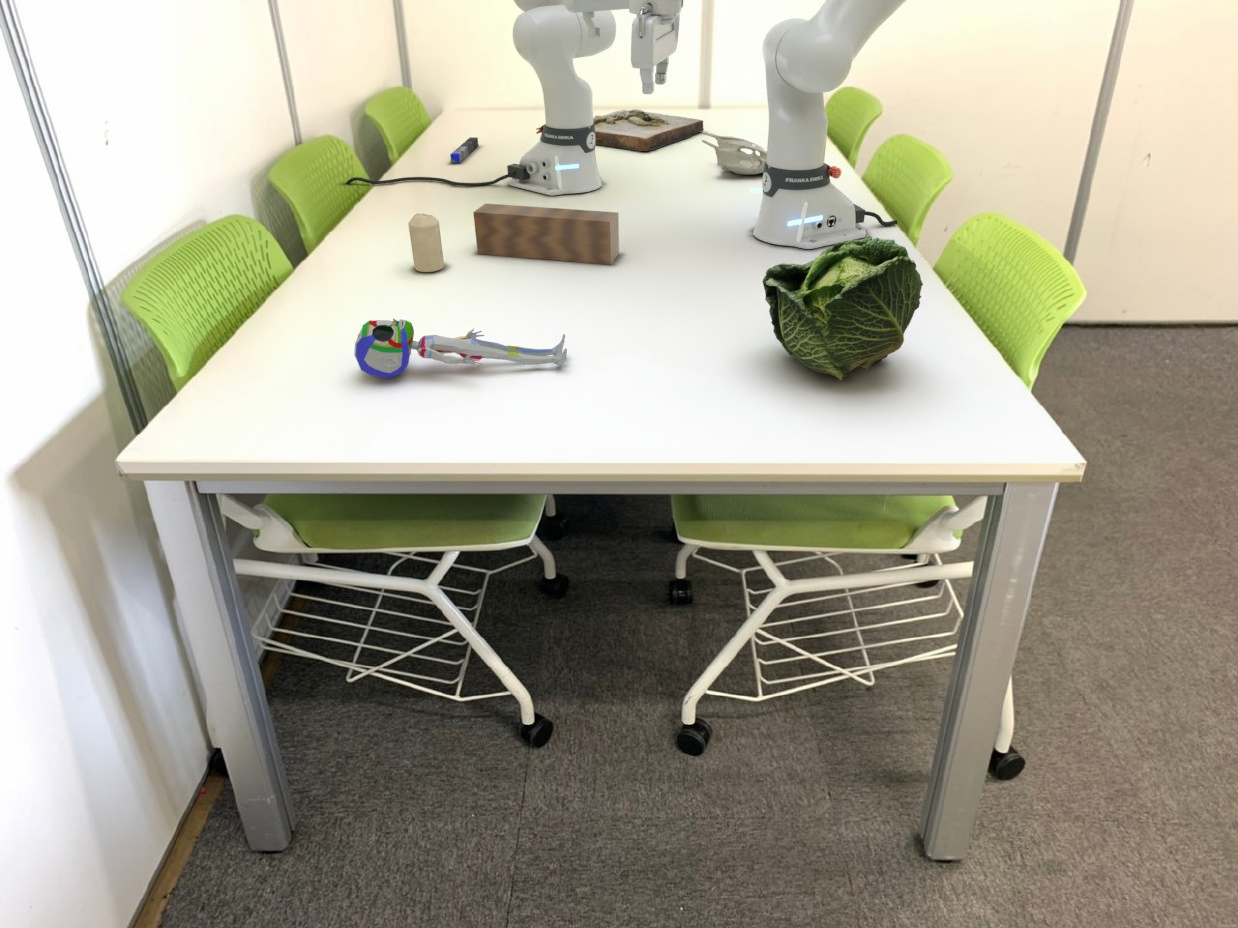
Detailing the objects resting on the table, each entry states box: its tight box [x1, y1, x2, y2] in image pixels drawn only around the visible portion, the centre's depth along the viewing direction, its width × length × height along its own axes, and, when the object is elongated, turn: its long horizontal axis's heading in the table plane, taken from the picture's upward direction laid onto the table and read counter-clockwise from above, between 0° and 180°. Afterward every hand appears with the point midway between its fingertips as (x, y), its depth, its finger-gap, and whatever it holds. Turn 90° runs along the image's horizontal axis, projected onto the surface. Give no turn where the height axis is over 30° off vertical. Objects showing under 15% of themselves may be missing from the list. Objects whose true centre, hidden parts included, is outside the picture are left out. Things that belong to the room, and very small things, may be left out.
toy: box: [353, 318, 568, 379], centre depth 130 cm, size 10×8×30 cm
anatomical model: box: [701, 131, 767, 176], centre depth 221 cm, size 15×9×25 cm
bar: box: [472, 203, 620, 266], centre depth 172 cm, size 27×6×8 cm, turn 75°
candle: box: [407, 212, 445, 273], centre depth 166 cm, size 6×6×10 cm
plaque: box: [593, 108, 705, 152], centre depth 257 cm, size 30×7×30 cm
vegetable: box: [762, 236, 924, 381], centre depth 127 cm, size 20×19×20 cm
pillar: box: [449, 137, 479, 164], centre depth 242 cm, size 2×2×20 cm
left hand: (616, 36), depth 172 cm, fingers open, 8 cm apart
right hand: (654, 88), depth 158 cm, fingers open, 8 cm apart
